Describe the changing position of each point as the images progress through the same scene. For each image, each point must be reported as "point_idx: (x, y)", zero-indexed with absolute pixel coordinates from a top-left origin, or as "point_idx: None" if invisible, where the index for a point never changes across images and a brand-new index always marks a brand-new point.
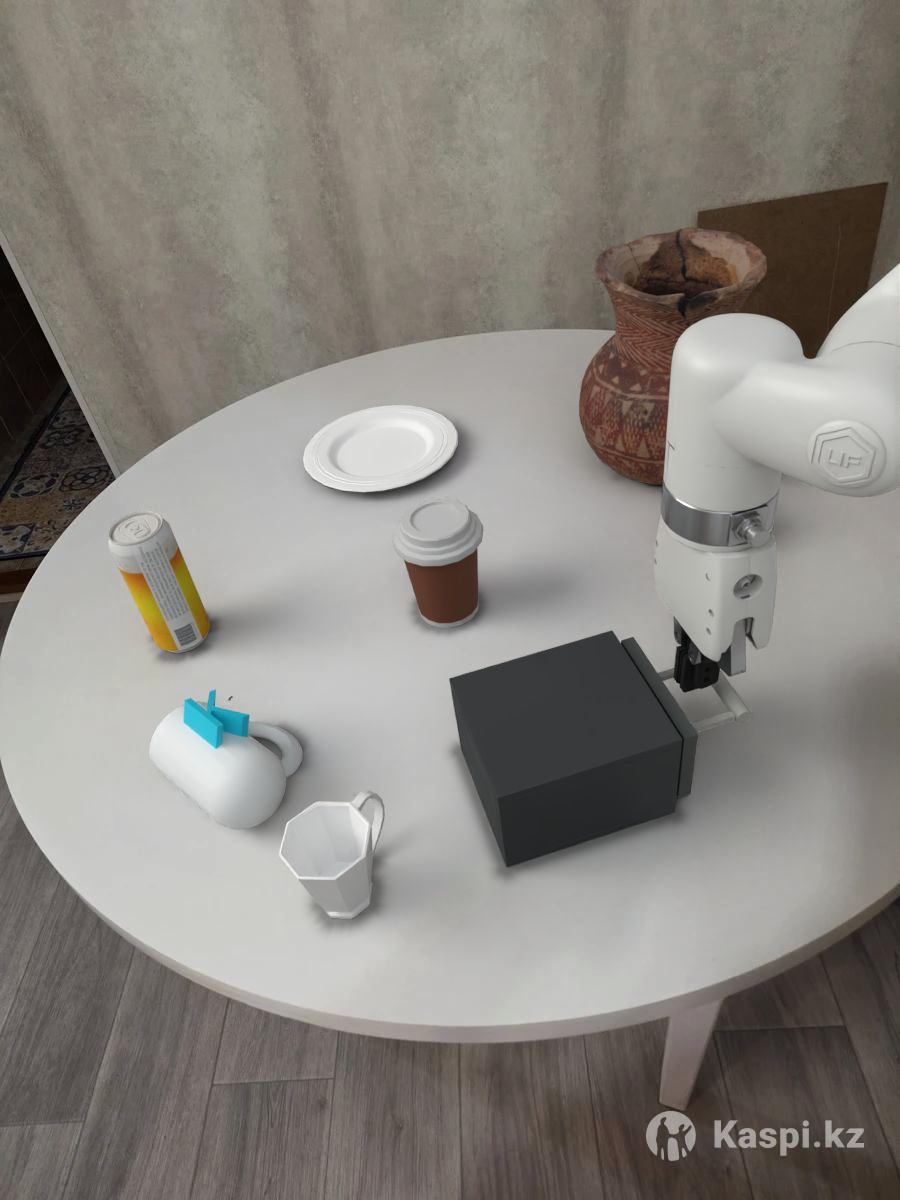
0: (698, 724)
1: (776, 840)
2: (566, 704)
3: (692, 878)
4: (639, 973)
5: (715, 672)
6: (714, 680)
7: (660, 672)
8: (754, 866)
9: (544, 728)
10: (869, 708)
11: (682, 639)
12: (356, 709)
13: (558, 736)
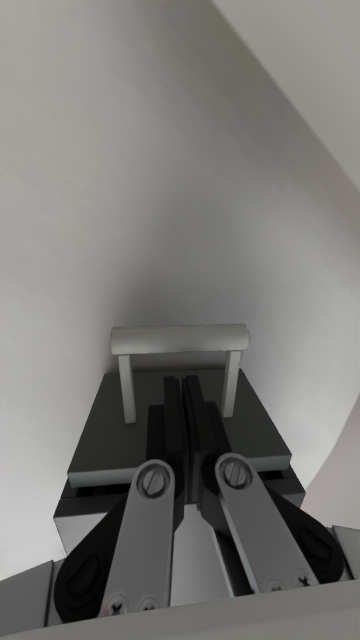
0: (230, 396)
1: (307, 313)
2: (182, 570)
3: (296, 386)
4: (328, 433)
5: (221, 422)
6: (216, 405)
7: (124, 406)
8: (315, 342)
9: (206, 584)
10: (220, 71)
11: (174, 539)
12: (56, 534)
13: (223, 577)
